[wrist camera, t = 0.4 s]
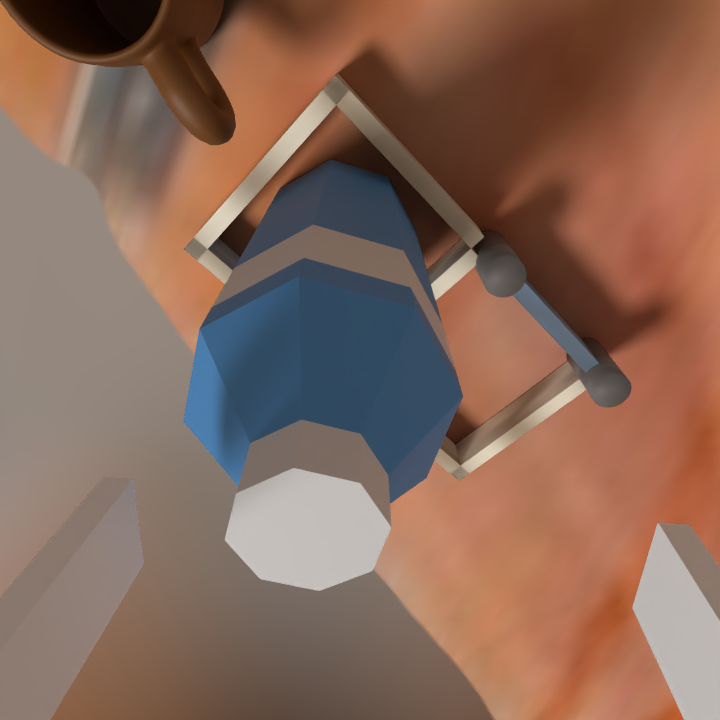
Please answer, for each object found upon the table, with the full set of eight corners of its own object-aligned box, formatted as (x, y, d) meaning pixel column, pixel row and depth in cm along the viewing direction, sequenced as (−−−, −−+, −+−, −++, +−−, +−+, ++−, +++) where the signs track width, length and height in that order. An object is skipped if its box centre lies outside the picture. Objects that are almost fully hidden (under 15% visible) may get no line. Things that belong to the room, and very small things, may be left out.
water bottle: (237, 247, 36) (48, 553, 14) (326, 124, 33) (255, 283, 11) (352, 330, 39) (340, 692, 17) (445, 225, 36) (579, 513, 14)
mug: (306, 84, 32) (287, 98, 24) (201, 160, 34) (149, 198, 26) (161, -154, 27) (73, -241, 19) (47, -49, 29) (-78, -85, 21)
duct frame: (346, 62, 31) (343, 65, 27) (608, 353, 40) (638, 391, 36) (194, 236, 36) (171, 263, 32) (458, 462, 45) (468, 508, 40)
